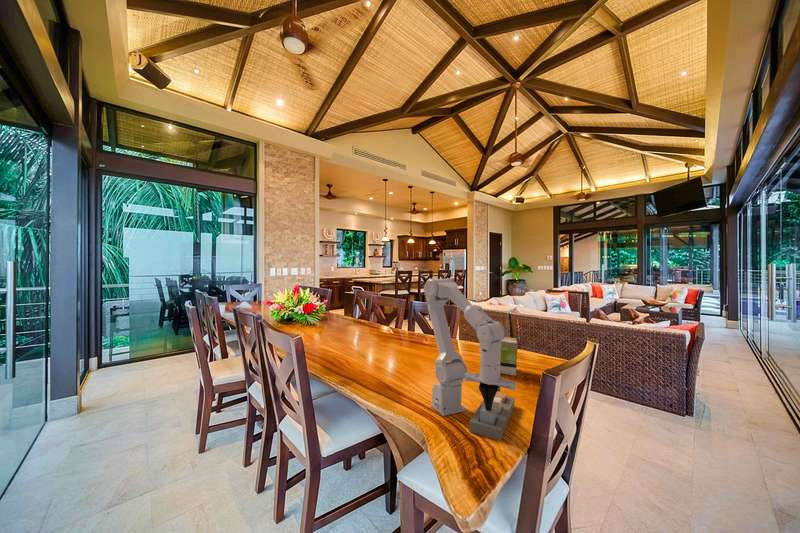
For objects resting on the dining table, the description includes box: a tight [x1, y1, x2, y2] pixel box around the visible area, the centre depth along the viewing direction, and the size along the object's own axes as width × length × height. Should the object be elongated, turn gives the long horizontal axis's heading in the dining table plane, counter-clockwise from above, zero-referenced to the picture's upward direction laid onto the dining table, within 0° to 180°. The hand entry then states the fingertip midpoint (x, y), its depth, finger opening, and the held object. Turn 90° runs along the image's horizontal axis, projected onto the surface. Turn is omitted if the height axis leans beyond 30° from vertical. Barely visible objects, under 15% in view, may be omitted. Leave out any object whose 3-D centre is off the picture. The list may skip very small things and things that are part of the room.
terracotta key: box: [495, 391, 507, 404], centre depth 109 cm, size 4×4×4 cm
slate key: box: [480, 405, 497, 426], centre depth 95 cm, size 4×4×4 cm
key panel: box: [468, 395, 516, 441], centre depth 102 cm, size 24×9×3 cm, turn 152°
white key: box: [492, 397, 502, 414], centre depth 102 cm, size 4×4×4 cm
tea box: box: [500, 336, 518, 376], centre depth 146 cm, size 15×10×15 cm
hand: (488, 408), depth 95 cm, fingers closed
